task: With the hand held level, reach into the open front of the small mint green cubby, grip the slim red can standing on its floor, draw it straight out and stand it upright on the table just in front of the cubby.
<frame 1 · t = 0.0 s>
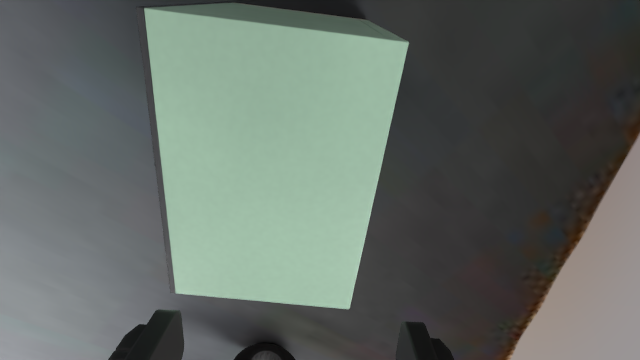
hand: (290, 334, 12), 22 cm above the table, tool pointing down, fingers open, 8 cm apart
mint green cubby: (299, 112, 32), on the table
controller: (263, 345, 47), on the table
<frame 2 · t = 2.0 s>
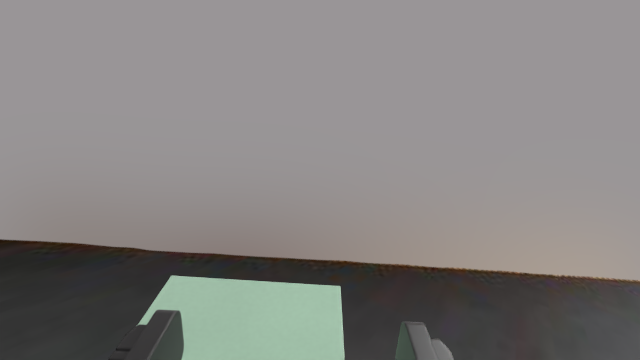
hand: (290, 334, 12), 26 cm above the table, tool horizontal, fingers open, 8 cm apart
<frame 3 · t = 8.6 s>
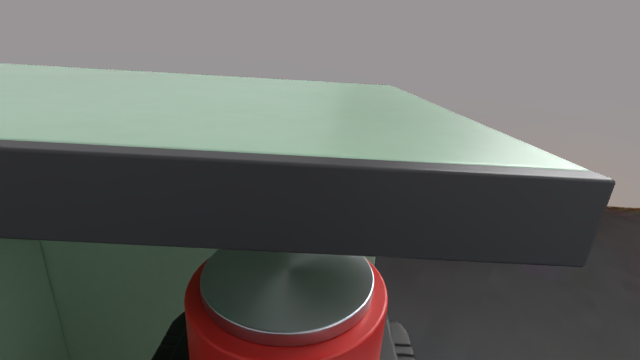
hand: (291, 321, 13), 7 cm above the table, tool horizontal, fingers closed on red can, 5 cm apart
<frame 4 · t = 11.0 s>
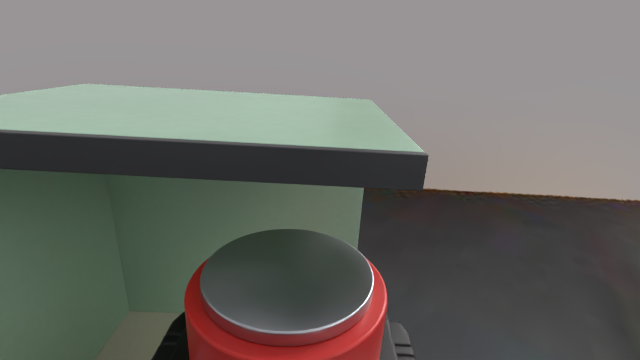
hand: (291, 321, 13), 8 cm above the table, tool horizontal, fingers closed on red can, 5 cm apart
when the fingers open (6 cm above the table, at t = 13.8 s): red can stays where it is, on the table.
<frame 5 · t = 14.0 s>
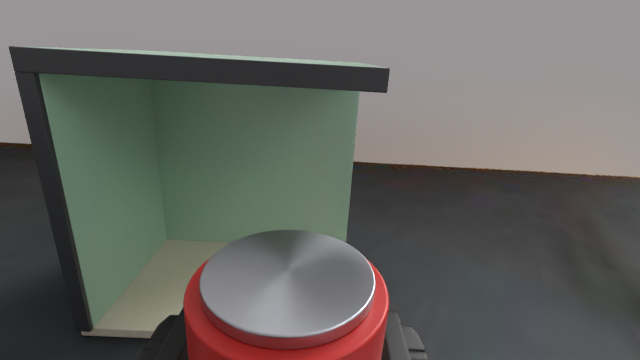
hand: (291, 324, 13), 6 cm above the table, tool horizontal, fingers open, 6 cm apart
mint green cubby: (247, 278, 25), on the table
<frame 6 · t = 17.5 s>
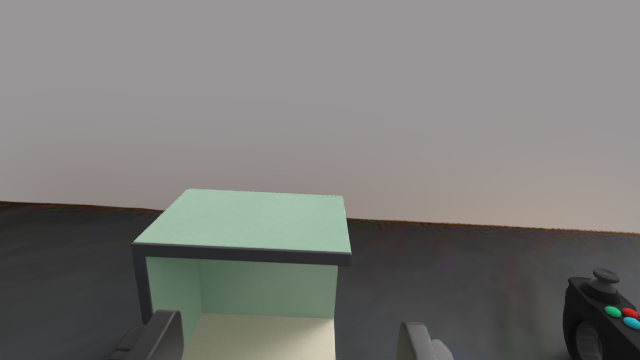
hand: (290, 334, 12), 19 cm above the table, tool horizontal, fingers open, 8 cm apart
mint green cubby: (262, 347, 36), on the table
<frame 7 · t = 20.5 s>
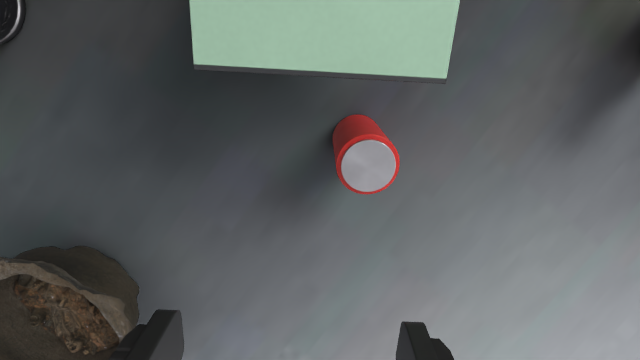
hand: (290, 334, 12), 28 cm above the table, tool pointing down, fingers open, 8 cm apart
red can: (356, 138, 39), on the table
stone bowl: (77, 299, 46), on the table
mint green cubby: (328, 1, 34), on the table
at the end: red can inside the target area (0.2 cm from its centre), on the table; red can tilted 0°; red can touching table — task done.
